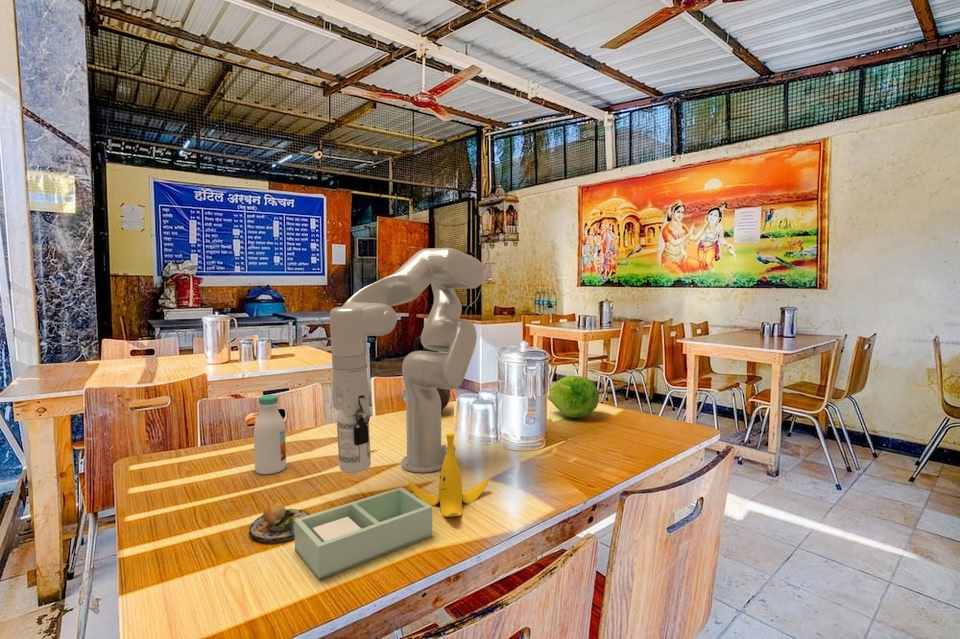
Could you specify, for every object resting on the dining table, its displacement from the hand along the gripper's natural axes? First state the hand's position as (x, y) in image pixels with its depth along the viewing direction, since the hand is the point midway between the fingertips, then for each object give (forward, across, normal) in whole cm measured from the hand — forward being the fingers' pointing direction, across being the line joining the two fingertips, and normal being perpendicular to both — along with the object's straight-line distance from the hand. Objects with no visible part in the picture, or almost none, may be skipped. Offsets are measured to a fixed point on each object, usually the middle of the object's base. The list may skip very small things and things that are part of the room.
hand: (353, 438), depth 110 cm
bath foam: (+7, 0, 0) cm, 7 cm away
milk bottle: (+15, -32, -10) cm, 37 cm away
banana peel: (+16, +15, +18) cm, 28 cm away
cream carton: (+14, +18, -12) cm, 25 cm away
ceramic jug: (+19, -52, +54) cm, 77 cm away
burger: (+15, +2, -18) cm, 23 cm away
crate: (+14, +18, -7) cm, 24 cm away
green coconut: (+20, -14, +93) cm, 96 cm away
